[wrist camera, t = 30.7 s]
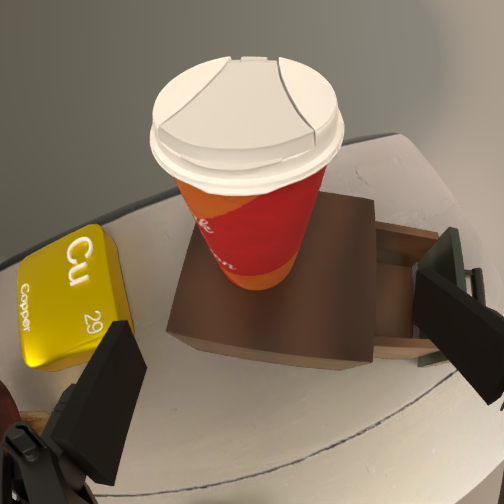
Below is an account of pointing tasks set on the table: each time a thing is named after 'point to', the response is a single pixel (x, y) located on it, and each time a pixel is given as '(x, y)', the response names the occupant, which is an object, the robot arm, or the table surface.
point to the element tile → (69, 299)
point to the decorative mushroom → (18, 415)
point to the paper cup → (248, 157)
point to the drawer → (401, 290)
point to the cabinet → (290, 296)
